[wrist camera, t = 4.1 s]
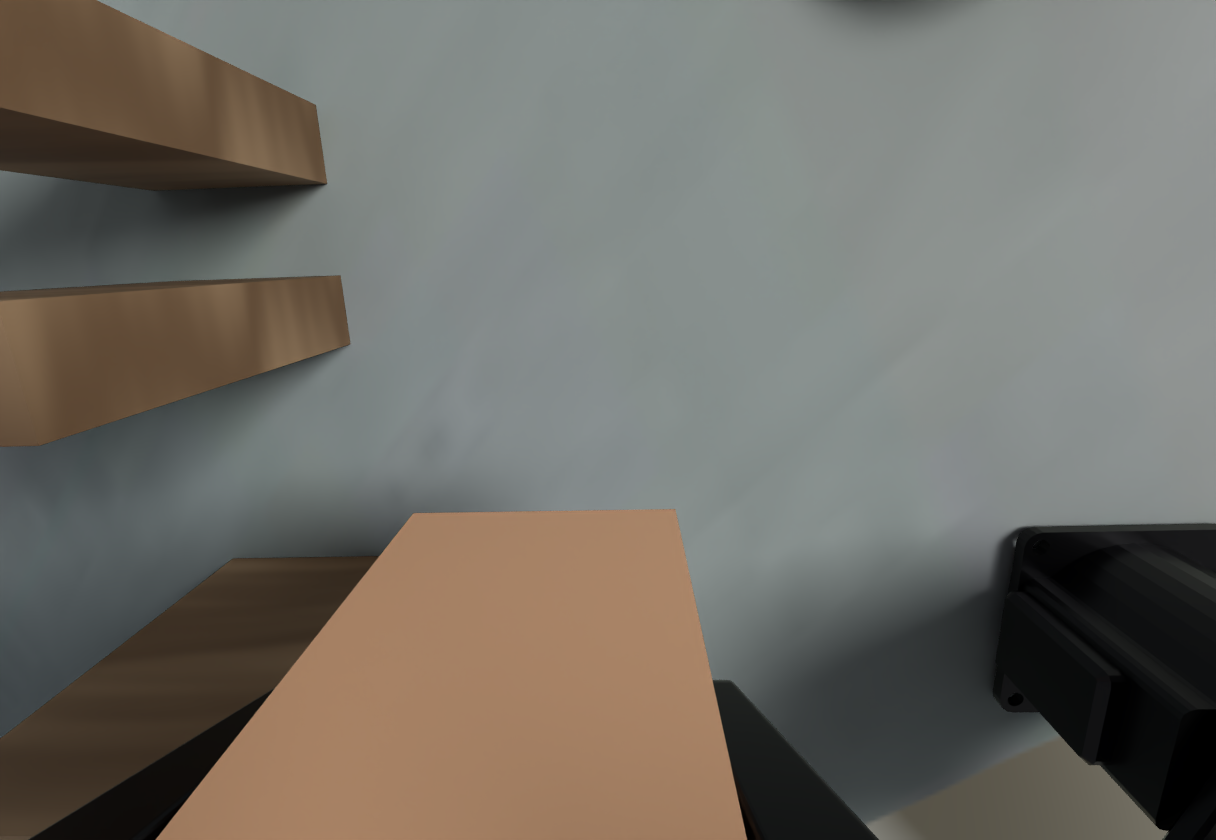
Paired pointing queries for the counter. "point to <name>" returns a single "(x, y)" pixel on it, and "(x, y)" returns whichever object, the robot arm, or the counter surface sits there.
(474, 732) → the domino
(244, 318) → the domino
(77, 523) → the counter surface
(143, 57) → the domino
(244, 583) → the domino
